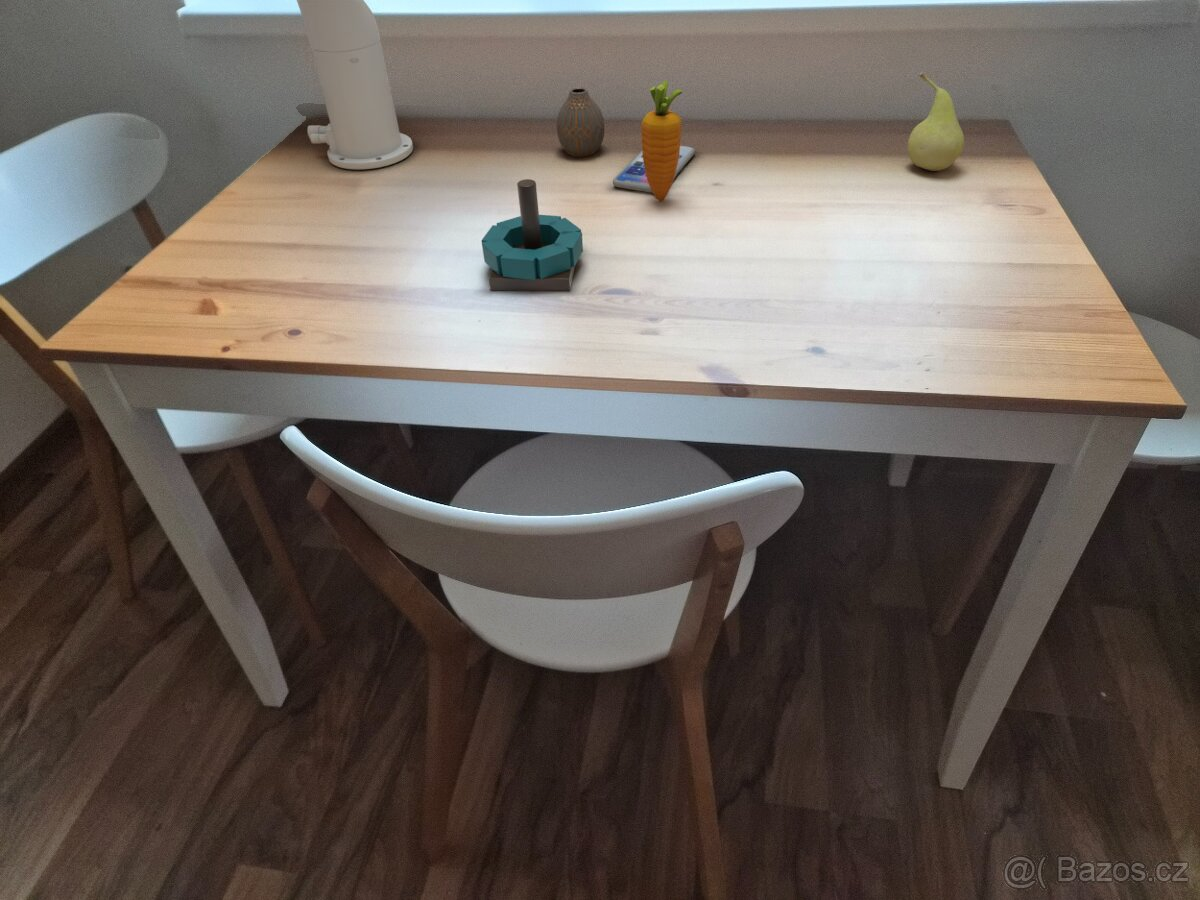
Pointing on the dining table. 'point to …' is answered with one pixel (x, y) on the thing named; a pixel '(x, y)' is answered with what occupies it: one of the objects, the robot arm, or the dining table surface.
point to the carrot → (661, 142)
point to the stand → (531, 247)
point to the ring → (529, 261)
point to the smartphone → (636, 175)
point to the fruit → (936, 134)
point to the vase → (580, 124)
